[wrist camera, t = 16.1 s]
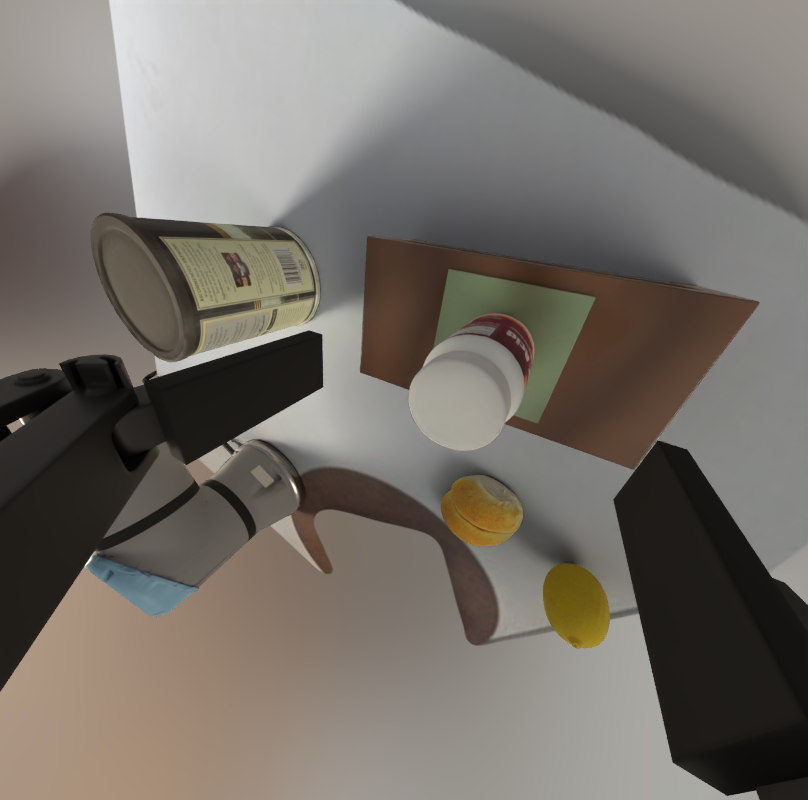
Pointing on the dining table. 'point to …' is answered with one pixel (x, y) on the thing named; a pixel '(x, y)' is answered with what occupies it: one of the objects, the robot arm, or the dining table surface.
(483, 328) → the pill bottle
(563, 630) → the lemon
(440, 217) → the dining table surface
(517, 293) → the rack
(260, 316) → the coffee can
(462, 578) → the dining table surface
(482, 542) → the bread roll
